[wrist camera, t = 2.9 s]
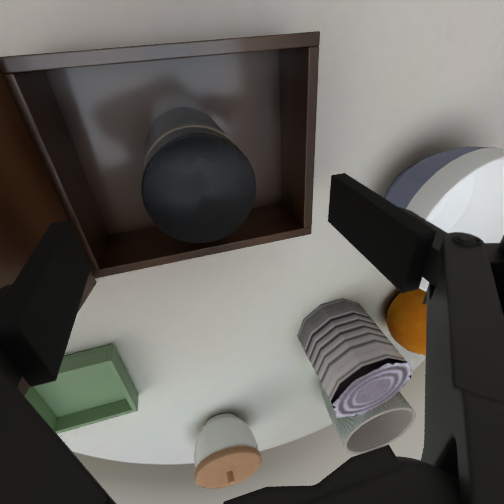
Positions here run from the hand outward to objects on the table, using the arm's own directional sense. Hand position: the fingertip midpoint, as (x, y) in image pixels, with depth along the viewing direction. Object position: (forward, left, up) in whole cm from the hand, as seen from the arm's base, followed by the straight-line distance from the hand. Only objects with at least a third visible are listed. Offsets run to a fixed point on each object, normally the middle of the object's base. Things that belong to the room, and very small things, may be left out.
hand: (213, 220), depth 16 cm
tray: (-19, -28, -16) cm, 37 cm away
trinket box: (-3, -48, -16) cm, 51 cm away
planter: (+21, -44, -16) cm, 51 cm away
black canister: (0, 0, -15) cm, 15 cm away
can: (+17, -30, -16) cm, 38 cm away
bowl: (+27, -10, -16) cm, 33 cm away
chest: (0, 0, -16) cm, 16 cm away
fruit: (+31, -29, -16) cm, 45 cm away
